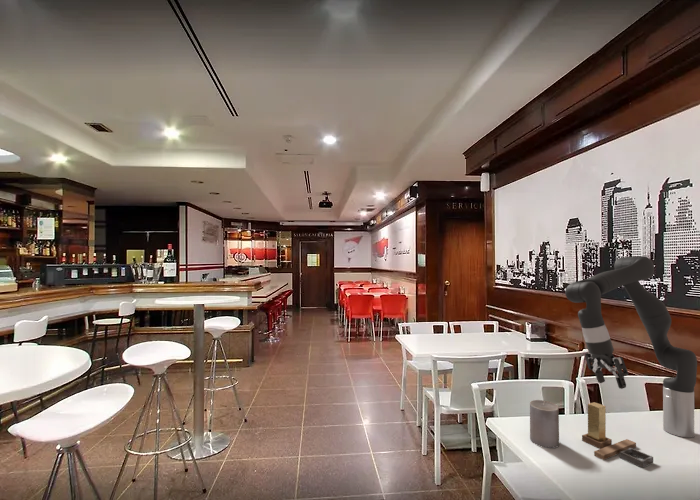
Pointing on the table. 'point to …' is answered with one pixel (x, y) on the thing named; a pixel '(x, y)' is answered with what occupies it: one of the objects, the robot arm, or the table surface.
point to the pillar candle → (544, 423)
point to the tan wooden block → (597, 422)
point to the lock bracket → (619, 451)
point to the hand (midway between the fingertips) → (611, 385)
